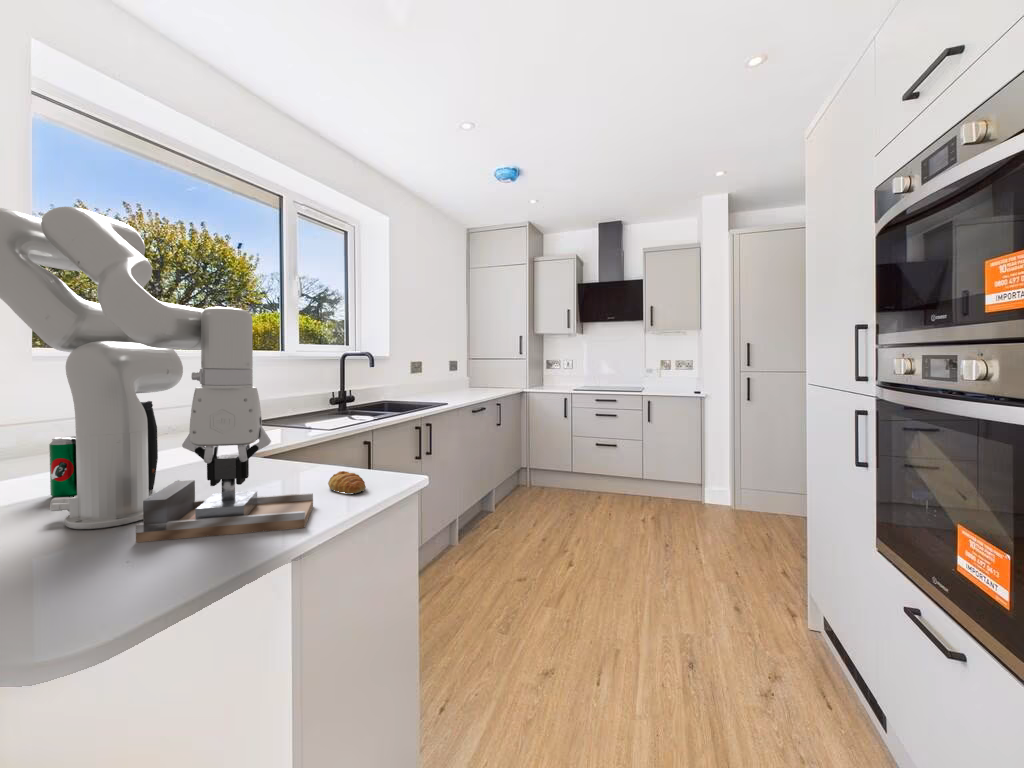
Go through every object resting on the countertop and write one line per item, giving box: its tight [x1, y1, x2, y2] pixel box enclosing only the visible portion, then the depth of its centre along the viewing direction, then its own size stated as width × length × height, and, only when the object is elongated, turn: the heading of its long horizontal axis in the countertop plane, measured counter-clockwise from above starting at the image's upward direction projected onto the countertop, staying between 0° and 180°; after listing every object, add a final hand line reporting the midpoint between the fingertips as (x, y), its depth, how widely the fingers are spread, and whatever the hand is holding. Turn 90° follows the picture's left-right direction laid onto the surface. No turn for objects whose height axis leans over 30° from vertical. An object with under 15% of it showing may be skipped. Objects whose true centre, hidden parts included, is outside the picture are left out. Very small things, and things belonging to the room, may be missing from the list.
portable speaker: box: [140, 400, 159, 491], centre depth 93 cm, size 9×9×20 cm
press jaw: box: [195, 453, 258, 519], centre depth 77 cm, size 7×9×10 cm
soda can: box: [48, 435, 77, 498], centre depth 91 cm, size 5×5×12 cm
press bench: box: [135, 479, 314, 543], centre depth 78 cm, size 24×12×6 cm, turn 108°
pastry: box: [327, 470, 366, 494], centre depth 99 cm, size 9×7×4 cm
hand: (228, 482), depth 77 cm, fingers closed on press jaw, 3 cm apart
